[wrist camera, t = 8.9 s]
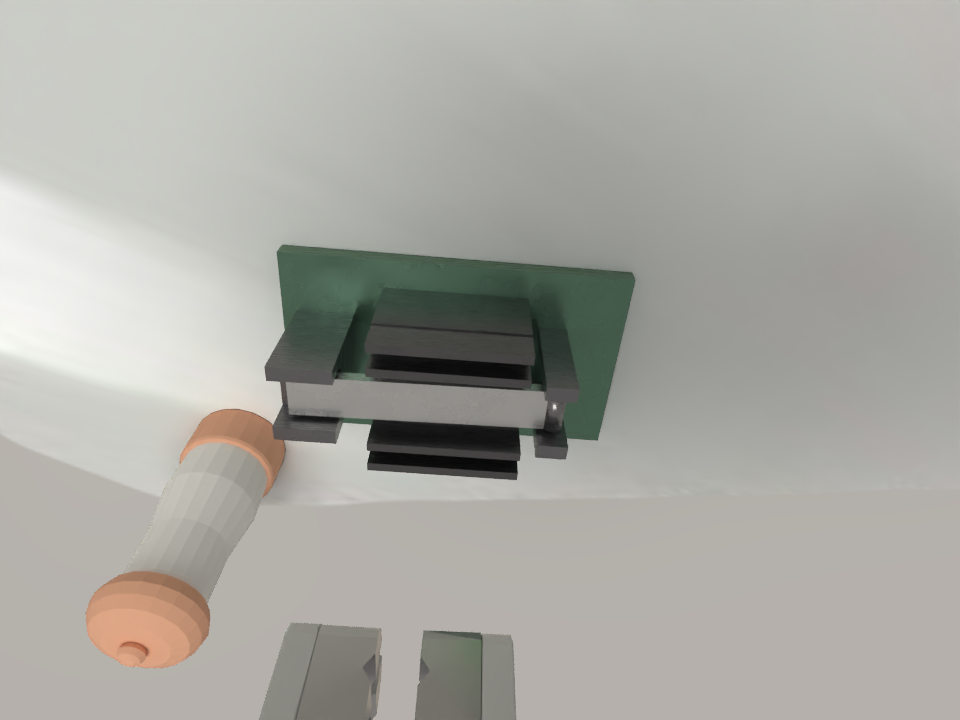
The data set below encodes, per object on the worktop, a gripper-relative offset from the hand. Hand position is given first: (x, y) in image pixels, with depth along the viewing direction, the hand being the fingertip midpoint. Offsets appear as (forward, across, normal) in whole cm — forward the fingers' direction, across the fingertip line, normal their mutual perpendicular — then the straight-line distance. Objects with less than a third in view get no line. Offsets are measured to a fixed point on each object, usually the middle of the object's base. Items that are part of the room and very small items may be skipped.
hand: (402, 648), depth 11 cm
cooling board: (+33, 0, +14) cm, 36 cm away
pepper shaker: (+33, +17, +25) cm, 45 cm away
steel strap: (+27, +1, +14) cm, 30 cm away
